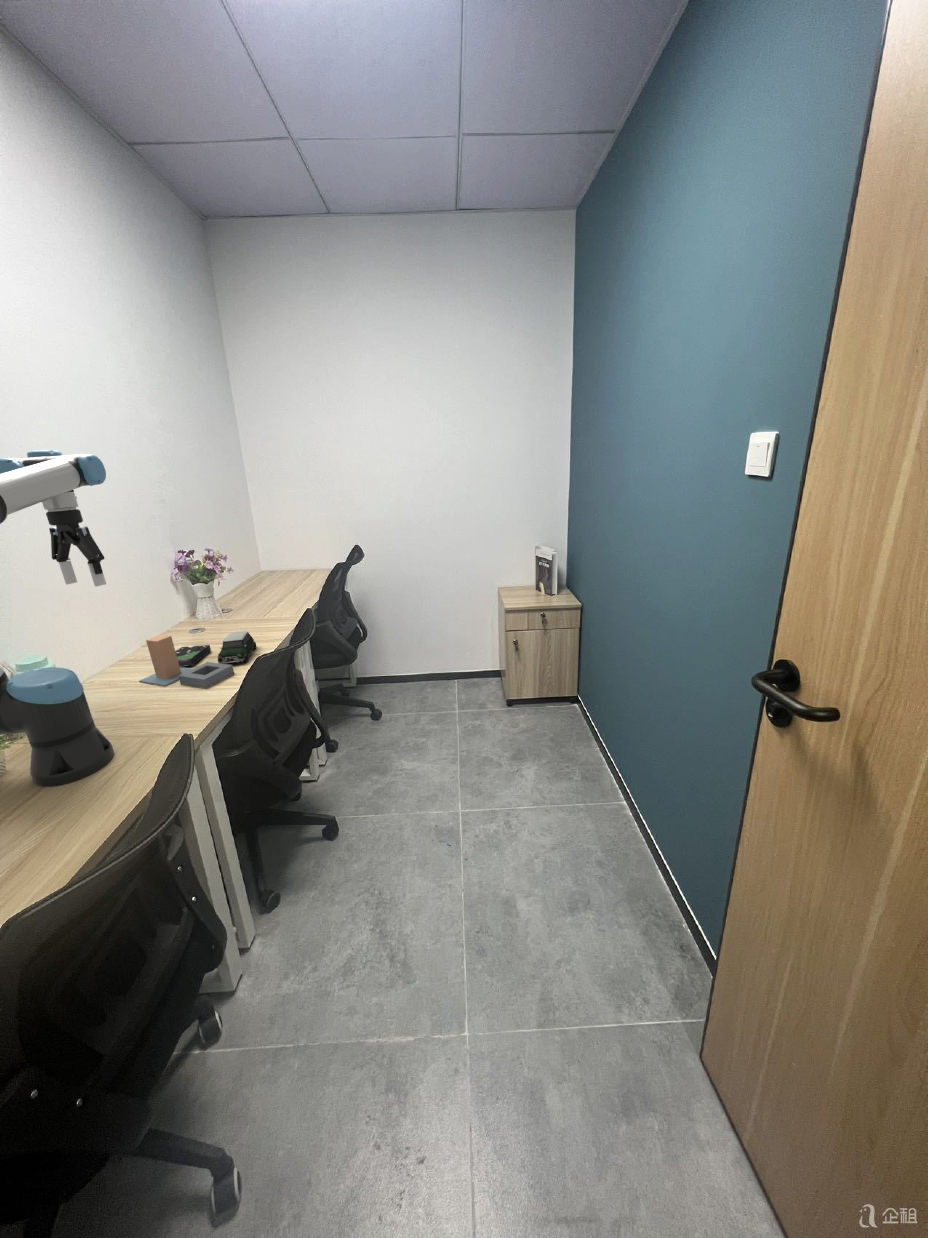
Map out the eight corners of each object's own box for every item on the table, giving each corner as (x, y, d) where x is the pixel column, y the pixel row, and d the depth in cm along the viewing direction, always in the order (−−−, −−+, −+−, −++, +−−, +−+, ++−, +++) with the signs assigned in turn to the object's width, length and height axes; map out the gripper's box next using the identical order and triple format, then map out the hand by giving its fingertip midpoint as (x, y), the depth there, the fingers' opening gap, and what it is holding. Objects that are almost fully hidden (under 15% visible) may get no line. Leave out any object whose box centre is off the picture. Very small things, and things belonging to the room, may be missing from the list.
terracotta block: (167, 679, 156) (156, 641, 151) (156, 677, 157) (145, 640, 153) (181, 672, 160) (171, 635, 156) (170, 671, 162) (160, 634, 158)
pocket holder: (206, 688, 148) (203, 679, 147) (180, 684, 152) (178, 675, 151) (234, 673, 158) (232, 665, 157) (209, 670, 162) (207, 661, 161)
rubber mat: (165, 686, 151) (165, 685, 151) (139, 682, 156) (139, 680, 156) (198, 670, 162) (197, 669, 162) (172, 667, 166) (172, 665, 166)
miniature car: (217, 669, 163) (212, 647, 160) (232, 649, 180) (228, 629, 177) (245, 665, 164) (240, 643, 161) (258, 646, 181) (253, 626, 178)
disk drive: (183, 653, 178) (161, 668, 164) (181, 646, 178) (159, 660, 163) (211, 651, 179) (192, 666, 164) (210, 644, 178) (190, 658, 164)
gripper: (105, 507, 132) (126, 582, 139) (51, 508, 142) (73, 579, 148) (75, 510, 125) (99, 589, 132) (20, 511, 135) (46, 585, 142)
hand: (85, 584), depth 140 cm, fingers open, 13 cm apart
